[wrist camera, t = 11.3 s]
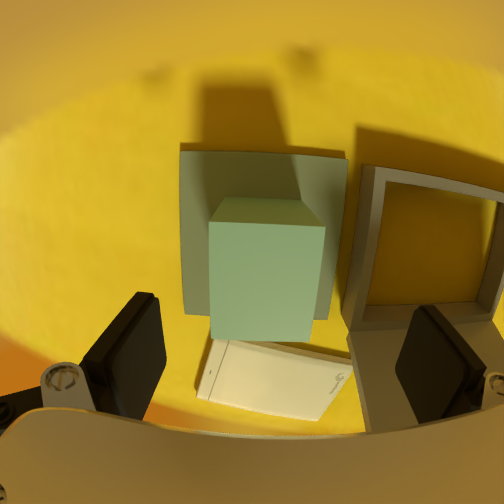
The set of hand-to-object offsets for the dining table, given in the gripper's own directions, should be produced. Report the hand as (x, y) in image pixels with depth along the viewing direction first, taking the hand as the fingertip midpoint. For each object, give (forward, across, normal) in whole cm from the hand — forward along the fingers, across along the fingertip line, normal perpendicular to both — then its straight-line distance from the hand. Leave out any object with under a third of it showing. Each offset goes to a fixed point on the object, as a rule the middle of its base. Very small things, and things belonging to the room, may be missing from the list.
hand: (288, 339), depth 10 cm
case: (+12, -13, 0) cm, 18 cm away
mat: (+11, +1, 0) cm, 11 cm away
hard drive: (+12, 0, +13) cm, 18 cm away
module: (+11, +1, 0) cm, 11 cm away
